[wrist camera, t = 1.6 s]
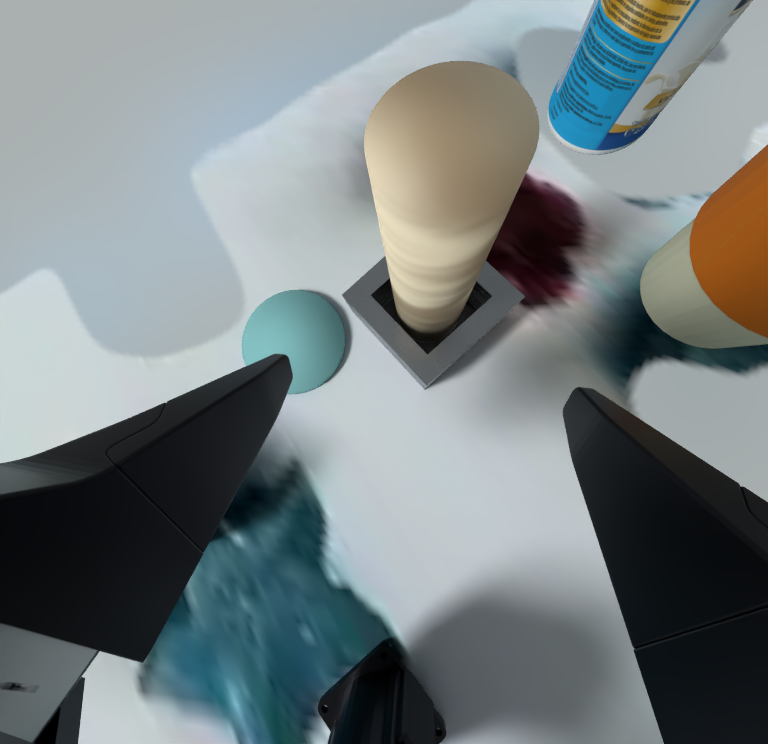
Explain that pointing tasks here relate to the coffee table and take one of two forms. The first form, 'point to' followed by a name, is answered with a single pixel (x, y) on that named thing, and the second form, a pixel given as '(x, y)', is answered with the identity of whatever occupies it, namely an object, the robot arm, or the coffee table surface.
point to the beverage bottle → (632, 67)
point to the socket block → (492, 306)
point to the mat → (297, 336)
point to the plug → (445, 182)
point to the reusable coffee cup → (716, 268)
